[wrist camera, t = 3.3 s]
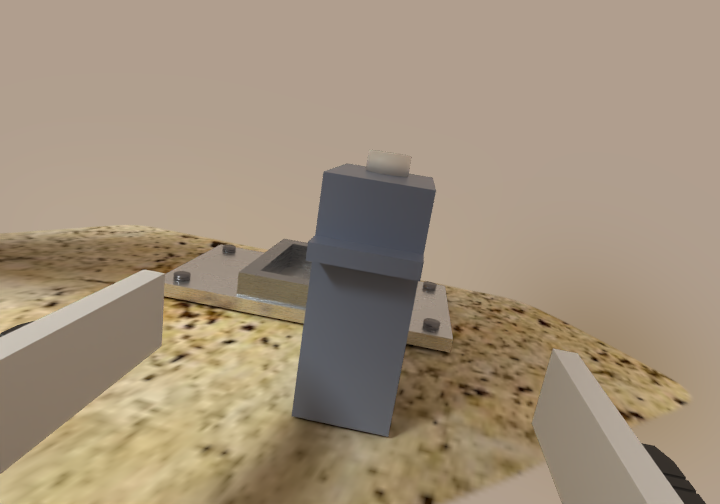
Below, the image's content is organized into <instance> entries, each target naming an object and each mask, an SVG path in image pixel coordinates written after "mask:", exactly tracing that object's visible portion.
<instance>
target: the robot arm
mask: <svg viewBox="0 0 720 504" xmlns="http://www.w3.org/2000/svg"><path fill="white" fill-rule="evenodd" d="M164 283H165V273H160V272H155V271H150V270H145V269H144V270H142V271H140V272H137V273H135V274H133V275H131V276H129V277H127V278H125V279H123V280H120V281H118V282H116V283H114V284H112V285H110V286H108V287H106V288H104V289H101V290H99V291H97V292H95V293H93V294H91V295H89V296H87V297H84V298H82V299H80V300H78V301H76V302H74V303H72V304H70V305H68V306H65V307H63V308H61V309H59V310H57V311H55V312H53V313H51V314H48V315H46V316H44V317H42V318H40V319H38V320H36V321H32V322H28V323H24V324H20V325H17V326H15V327H13V328H11V329H9V330H6V331H4V332H2V333H1V334H0V473H2V472H4V471H5V470H6V469H7V468H9V467H10V466H11V465H12V464H14V463H15V462H16V461H17V460H19V459H20V458H21V457H22V456H24V455H25V454H26V453H27V452H29V451H30V450H31V449H32V448H34V447H35V446H36V445H37V444H39V443H40V442H41V441H43V440H44V439H45V438H46V437H48V436H49V435H50V434H51V433H53V432H54V431H55V430H56V429H58V428H59V427H60V426H61V425H63V424H64V423H65V422H66V421H68V420H69V419H70V418H71V417H73V416H74V415H75V414H76V413H78V412H79V411H80V410H82V409H83V408H84V407H85V406H87V405H88V404H89V403H90V402H92V401H93V400H94V399H95V398H97V397H98V396H99V395H100V394H102V393H103V392H104V391H105V390H107V389H108V388H109V387H110V386H112V385H113V384H114V383H115V382H117V381H118V380H119V379H120V378H122V377H123V376H124V375H126V374H127V373H128V372H129V371H131V370H132V369H133V368H134V367H136V366H137V365H138V364H139V363H141V362H142V361H143V360H144V359H146V358H147V357H148V356H149V355H151V354H152V353H153V352H154V351H156V350H157V349H158V348H159V347H161V346H162V325H163V304H164ZM532 425H533V428H534V430H535V433H536V436H537V438H538V441H539V444H540V446H541V449H542V451H543V454H544V457H545V459H546V462H547V465H548V467H549V470H550V473H551V475H552V478H553V481H554V483H555V486H556V488H557V491H558V494H559V496H560V499H561V502H562V504H706V503H705V502H704V501H703V499H702V498H701V497H700V495H699V494H696V490H695V489H694V488H693V486H692V485H691V484H690V482H689V481H687V480H685V479H686V477H685V476H684V475H683V473H682V472H681V471H680V469H679V468H678V467H677V465H676V464H675V463H674V462H673V461H672V460H671V459H670V458H669V457H667V456H666V455H665V454H664V453H662V452H661V451H660V450H659V449H657V448H656V447H655V446H652V445H647V444H642V443H641V442H640V441H639V439H638V438H637V437H636V435H635V434H634V432H633V431H632V430H631V428H630V427H629V425H628V424H627V422H626V421H625V420H624V418H623V417H622V415H621V414H620V413H619V411H618V410H617V408H616V407H615V406H614V404H613V403H612V401H611V400H610V398H609V397H608V396H607V394H606V393H605V391H604V390H603V389H602V387H601V386H600V384H599V383H598V382H597V380H596V379H595V377H594V376H593V375H592V373H591V372H590V370H589V369H588V367H587V366H586V365H585V363H584V362H583V360H582V359H581V358H580V356H579V355H578V353H573V352H568V351H563V350H558V349H553V350H552V353H551V357H550V361H549V364H548V368H547V371H546V375H545V378H544V382H543V385H542V389H541V392H540V396H539V399H538V403H537V407H536V410H535V414H534V417H533V421H532Z"/></svg>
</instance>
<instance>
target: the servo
mask: <svg viewBox="0 0 720 504" xmlns="http://www.w3.org/2000/svg"><path fill="white" fill-rule="evenodd" d="M411 158H412V157H411V156H407V155H402V154H396V153H391V152H383V151H376V150H369V154H368V160H367V166H366V167H365V166H359V165H353V164H345V165H342V166H339V167H336V168H333V169H330V170H327V171H324V174H323V181H322V189H321V196H320V204H319V212H318V219H317V227H316V235H315V236H314V237H313V238H312V239H311V240H310V241H309V242H308V246H307V254H306V261H311V262H312V265H311V273H310V280H309V288H308V296H307V303H306V311H305V319H304V326H303V334H302V342H301V349H300V357H299V364H298V372H297V380H296V387H295V395H294V403H293V410H292V416H294V417H299V418H303V419H308V420H313V421H317V422H322V423H327V424H331V425H336V426H341V427H345V428H350V429H355V430H359V431H364V432H368V433H373V434H378V435H382V436H387V437H388V435H389V430H390V425H391V420H392V414H393V409H394V404H395V399H396V394H397V389H398V383H399V378H400V373H401V368H402V363H403V358H404V352H405V347H406V342H407V337H408V332H409V327H410V321H411V316H412V311H413V306H414V301H415V296H416V290H417V285H418V281H420V278H421V273H422V268H423V263H424V262H423V254H424V249H425V244H426V239H427V233H428V228H429V223H430V218H431V213H432V207H433V203H434V197H435V192H436V189H435V185H434V181H433V178H432V177H425V176H419V175H414V174H409V169H410V163H411Z"/></svg>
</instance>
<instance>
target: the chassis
mask: <svg viewBox="0 0 720 504" xmlns="http://www.w3.org/2000/svg"><path fill="white" fill-rule="evenodd" d="M307 246H308V243H304V242H299V241H293V240H288V239H283V240H282V241H280V242H279V243H278V244H276V245H275V246H274V247H272V248H271V249H269V250H268V251H267V252H265V253H263V252H258V251H253V250H247V249H242V248H236V247H235V246H232V245H219V246H217V247H215V248H213V249H211V250H209V251H207V252H206V253H204V254H202V255H200V256H198V257H196V258H194V259H192V260H191V261H189V262H187V263H185V264H183V265H181V266H179V267H178V268H176V269H174V270H172V271H170V272H168V273H166V274H165V283H164V296H166V297H171V298H176V299H181V300H186V301H191V302H196V303H201V304H207V305H212V306H217V307H222V308H227V309H232V310H237V311H242V312H247V313H252V314H257V315H262V316H268V317H273V318H278V319H283V320H288V321H293V322H298V323H303V324H304V319H305V311H306V303H307V296H308V288H309V280H310V273H311V265H312V262H311V261H306V254H307ZM452 342H453V336H452V329H451V323H450V316H449V310H448V303H447V296H446V290H445V286H442V285H437V284H435V283H432V282H421V281H418V285H417V290H416V296H415V301H414V306H413V311H412V316H411V321H410V327H409V332H408V337H407V342H406V344H410V345H415V346H420V347H425V348H430V349H435V350H441V351H446V352H450V351H451V346H452Z"/></svg>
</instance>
